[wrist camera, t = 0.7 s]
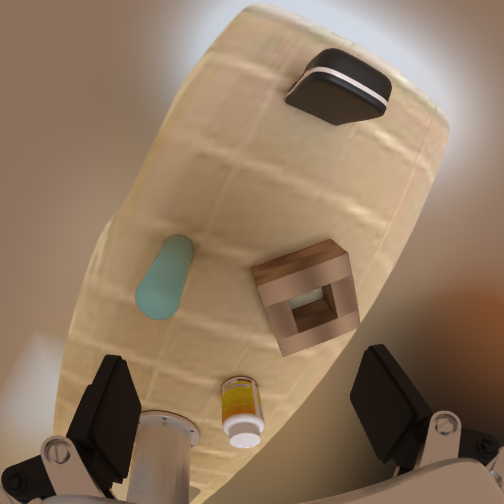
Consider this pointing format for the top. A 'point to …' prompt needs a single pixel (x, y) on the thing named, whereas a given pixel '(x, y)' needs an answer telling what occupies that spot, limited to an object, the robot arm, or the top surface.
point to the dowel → (165, 279)
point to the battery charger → (340, 89)
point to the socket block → (304, 280)
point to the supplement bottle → (242, 412)
